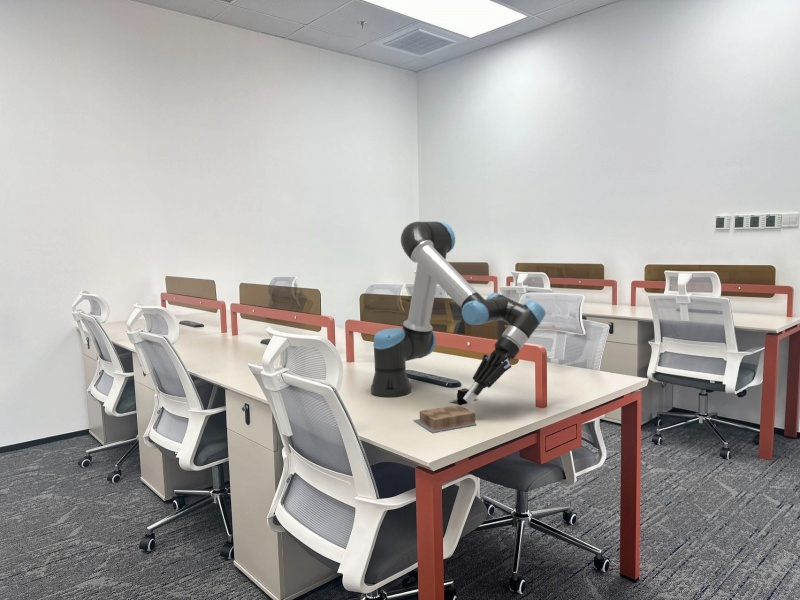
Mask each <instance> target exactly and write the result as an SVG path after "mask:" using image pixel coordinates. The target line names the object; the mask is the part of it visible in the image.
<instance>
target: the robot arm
mask: <svg viewBox="0 0 800 600" xmlns="http://www.w3.org/2000/svg"><path fill="white" fill-rule="evenodd" d="M400 244H401V248H402V250H403V252H404V253H405V255H406V256H407V257H408V258H409V259H410V261H412V262H413V263H415V264H416V263H417V266H416V272H415V277H414V282H413V289H412V293H411V294H412V295H411V300H410V304H409V305H410V306H409V312H408V315H407V316H408V317H407V319H406V320H404V321H403V323H402V324H403V325H402V328H400V327H393V328H392V327H391V328H386V329H380V330H379V331H377V332H376V333H375V334H374V337H373V344H372V345H373V354H374V355H373V357H374V376H373V378H372V379H373V380H372V383H371V386H370V393H371V394H372V395H373V396H377V397H382V398H383V397H384V398H394V397H395V398H396V397H401V396H406V395H408V394H411V392H412V385H411V382H410V380H409V376H408V373H407V371H406V370H407V369H406V367H407V365H406V362H408V361H412V360H416V359H422V358H425V357H427V356H430V354H432V352H434V350H435V347H436V344H437V338H436V336H435V332H434V330H433V326H432V324H431V317H432V312H433V306H434V301H435V297H436V290H437V285H439V287H440V288H441V289H442V290H443V291H444V292H445V293H446V294H447V295H448V296H449V297H450V298H451V299H452V300H453V301H454V303H456V304H457V306H458V307H459V308H460V309H461V316H462V318H463V319H462V320H463V321H464V322H465V323H466V324H468V325H471V326H478V325H479V326H480V325H483V324H488V323H492V322H497V321H503V322H505V323H508V324H509V325H507V327H506V329H505V330H504V331H503V333H502V334H501V336H500V337H499V338H498V339H497V341H495V344H494V348H495V349H494V350H493V351H492V352H490V354H489V355H488V354H484V355H482V360H481V362H480V363H479V365H478V367H477V369H476V371H475V373H474V374H473V377H472V380H473V381H474V383H473V384H472V385H471V386H470V388H468V389H469V391H468V392H467V394H466V395H465V396H464V398H463V399H464V400H465V401H466V402H467V404H469V405H473V403H474V402H475V401H474V400H475V399H477V397H478V396H479V395H480V393H482V391H483V390H484V389H486V388H491V387H492V386H493V385H494V384H495V383H496V382H497V381H498V380H499V379H500V378H501V377H502V376H503V375H504V374H505V372H507V371H508V370H510V369H511V368H512V365H511V364H510V361H511V360H514V359H515V358H516V357H517V355H518V354H519V353H520V350H522V348H523V347H524V346H525V344H526V343H527V341H528V340H529V339H530V337H531V336H532V335H533V333H534V332H535V331H536V329H537V328H538V327H539V326H540V325H541V322H542V321H543V320H544V318H545V316H546V310H545V309H544V307H543V306H542V305H541V304H540V303H538V302H536V301H534V300H527V301H526V302H525V303H524V304H523V303H519V302H517V301H516V300H513V299H511V298H509V297H507V296H506V295H504V294H500V293H497V292H492V293H491V294H490V295H489V294H488V296H487V297H486V299H485V298H484V297H483V296H482V295H481V294H480V293H479V292H478V291H477V290H476V289H475V288H474V287H473V286H472V284H470V283H469V282H468V281H467V280H466V279H465V278H464V277H463V276H462V274H460V273H459V271H457V270H456V268H454V267H453V265H452V264H451V263H449V262H448V261H447V260H446V258H447V254H448V253H450V252H452V251H451V250H453V249H454V247H455V246H456V245H455V244H456V234H455V231H454V230H453V229H452V227H451V226H450V225H449V224H448V223H446V222H442V221H436V220H435V221H414V222H410V223H408V224H407V225H406V226H405V227H404V228H403V231H402V232H401V235H400Z"/></svg>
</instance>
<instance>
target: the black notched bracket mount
mask: <svg viewBox="0 0 800 600" xmlns="http://www.w3.org/2000/svg"><path fill="white" fill-rule="evenodd" d="M469 389H470V388H466V387H464V388H461V389H457V393H456V399H454V400H452V401H449V402H448V403H449V404H454V405H460V406H464V405H466V404H468V403H467V402H466V401H465V400H464V399H463V398H464V396H465V395H466V394H467V392H468V391H469ZM476 401H478V399H477V398H475V400H474V401H473V402H476Z"/></svg>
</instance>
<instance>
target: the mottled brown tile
mask: <svg viewBox="0 0 800 600" xmlns="http://www.w3.org/2000/svg"><path fill="white" fill-rule="evenodd" d="M419 419H420V421H421V422H423V423H424V424H426V425H427V426H429V427H431V428H432V429H434V430H437V429H443V428H448V427H454V426H459V425H465V424H470V423H475V424H476V413H475V412H474V411H472V410H469V409H468V408H466V407H464V406H463V405H457V404H454V405H449V406H444V407H436V408H432V409H425V410H420V411H419Z"/></svg>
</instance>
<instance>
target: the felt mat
mask: <svg viewBox="0 0 800 600" xmlns="http://www.w3.org/2000/svg"><path fill="white" fill-rule="evenodd" d="M412 421H413V422H414V423H416V424H417V425H419V426H420V427H422V428H424V429H426V431H428V430H429V431H428V432H430V433H431V432H432V433H431V434H434V433H433V432H436V433H441V432H440V431H442V432H447V431H452V429H453V430H458V429H462V428H463V427H464V428H468V427H469V428H470V427H473V426H474V425H475V426H477V424H476V422H475V423H470V424H465V425H459V426H454V427H448V428H443V429H437V430H434V429H432V428H431V427H429V426H427V425H426V424H424V423H423V422H421V421H420V418H417V419H413V420H412ZM457 428H458V429H457ZM464 428H463V429H464ZM446 430H447V431H446Z"/></svg>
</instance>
